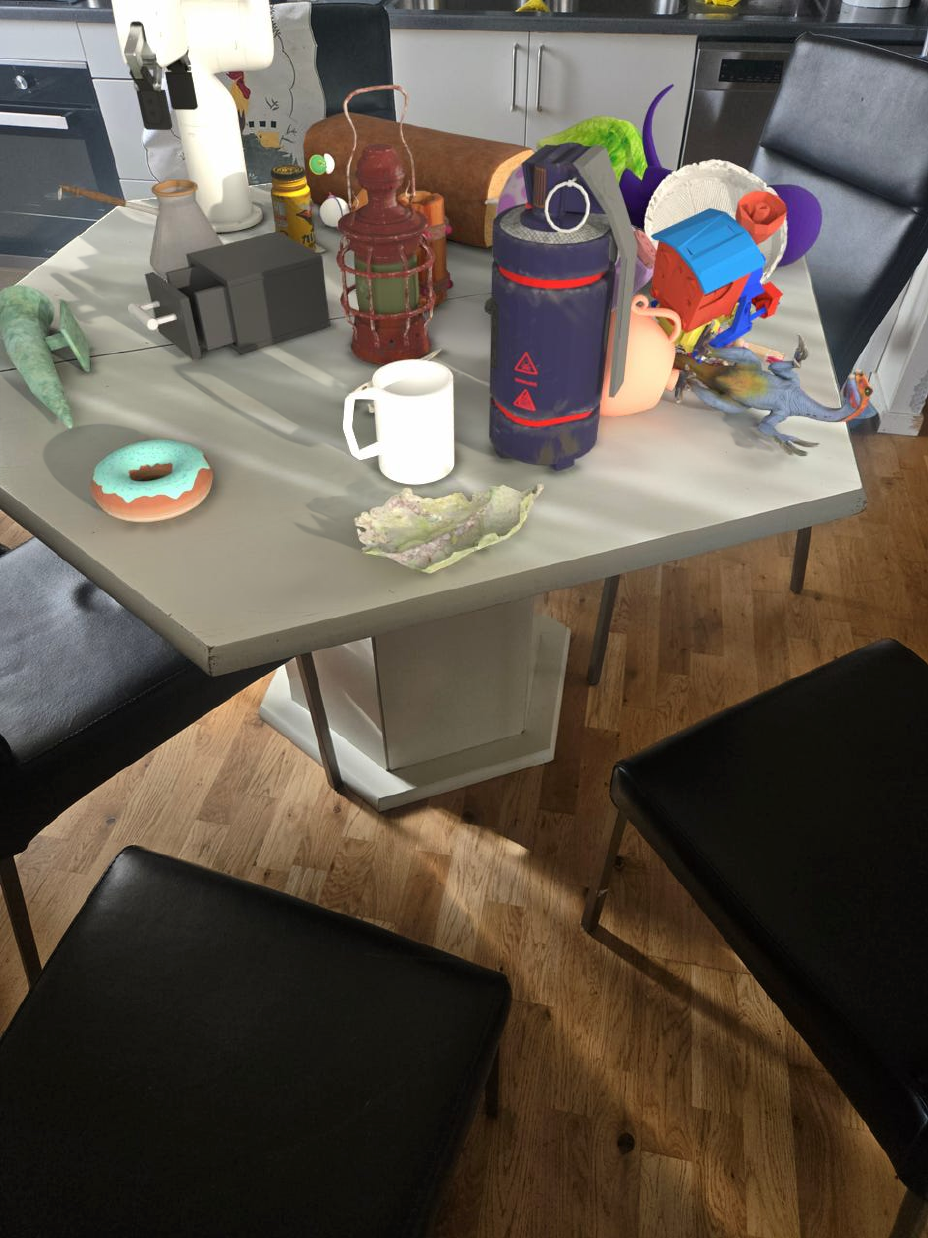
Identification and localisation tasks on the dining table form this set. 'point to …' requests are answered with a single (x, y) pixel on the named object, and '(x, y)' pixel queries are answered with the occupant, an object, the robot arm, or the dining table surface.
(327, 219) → the toy
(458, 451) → the dining table surface
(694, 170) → the food container
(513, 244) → the canister
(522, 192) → the toy
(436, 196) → the mug
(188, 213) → the coffee pot
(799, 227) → the toy
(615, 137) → the lettuce
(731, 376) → the toy dinosaur
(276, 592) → the dining table surface
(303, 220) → the condiment
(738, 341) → the toy
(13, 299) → the decorative horn
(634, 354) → the sugar bowl
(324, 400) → the dining table surface
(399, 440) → the cup
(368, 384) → the jawbone
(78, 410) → the dining table surface
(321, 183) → the bread
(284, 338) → the cabinet
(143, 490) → the donut
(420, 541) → the cabbage leaf
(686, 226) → the toy train
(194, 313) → the drawer
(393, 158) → the lantern
